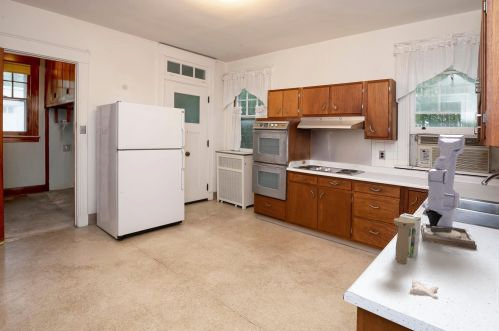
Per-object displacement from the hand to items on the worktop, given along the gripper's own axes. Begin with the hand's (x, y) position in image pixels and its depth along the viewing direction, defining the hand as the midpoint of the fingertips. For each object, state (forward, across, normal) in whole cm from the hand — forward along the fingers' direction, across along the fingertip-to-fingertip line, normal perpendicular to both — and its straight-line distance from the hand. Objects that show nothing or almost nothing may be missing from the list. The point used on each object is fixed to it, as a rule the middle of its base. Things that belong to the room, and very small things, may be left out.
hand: (433, 227), depth 126 cm
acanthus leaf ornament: (+5, +43, -32) cm, 54 cm away
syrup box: (+4, +17, -22) cm, 28 cm away
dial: (+2, +2, +4) cm, 5 cm away
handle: (+4, +25, -28) cm, 38 cm away
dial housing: (+4, +2, +5) cm, 7 cm away
